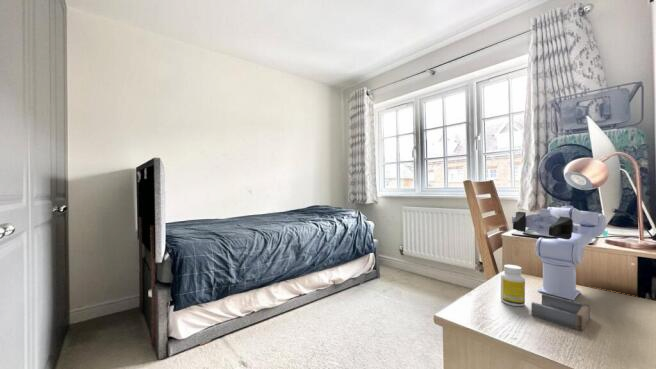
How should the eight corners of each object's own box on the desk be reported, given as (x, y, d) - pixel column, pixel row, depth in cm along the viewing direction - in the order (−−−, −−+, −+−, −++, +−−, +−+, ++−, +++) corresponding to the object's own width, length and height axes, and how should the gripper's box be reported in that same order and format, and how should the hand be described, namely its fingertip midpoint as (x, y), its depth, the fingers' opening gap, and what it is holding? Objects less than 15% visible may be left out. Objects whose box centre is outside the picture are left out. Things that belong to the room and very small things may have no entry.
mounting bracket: (542, 304, 71) (542, 293, 71) (589, 318, 64) (589, 305, 64) (531, 315, 65) (531, 303, 65) (581, 331, 58) (581, 317, 58)
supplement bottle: (529, 307, 69) (529, 270, 69) (506, 306, 70) (505, 269, 70) (518, 299, 75) (518, 264, 75) (497, 297, 76) (497, 263, 76)
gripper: (521, 204, 81) (501, 208, 73) (586, 210, 69) (570, 217, 61) (520, 226, 82) (500, 234, 74) (584, 237, 70) (568, 247, 62)
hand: (531, 228), depth 68 cm, fingers open, 7 cm apart
